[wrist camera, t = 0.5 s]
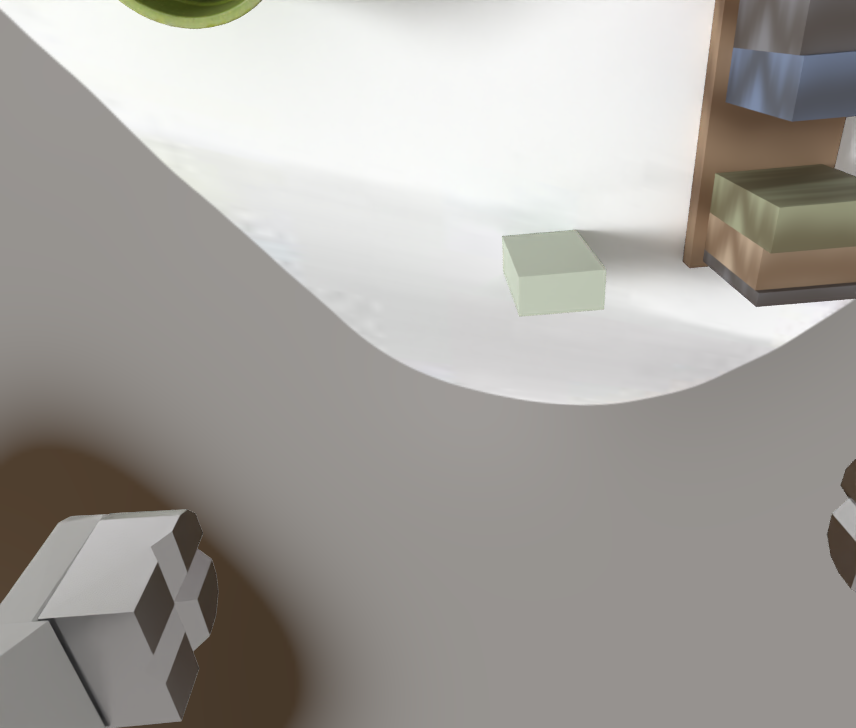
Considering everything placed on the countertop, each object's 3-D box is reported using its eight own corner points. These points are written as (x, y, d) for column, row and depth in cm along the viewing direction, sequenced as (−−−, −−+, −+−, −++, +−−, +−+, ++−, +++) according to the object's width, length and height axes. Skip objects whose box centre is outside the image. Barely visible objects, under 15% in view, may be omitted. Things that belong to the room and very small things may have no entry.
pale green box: (502, 236, 51) (519, 277, 43) (576, 229, 51) (606, 269, 43) (502, 270, 52) (519, 316, 45) (574, 264, 52) (604, 309, 45)
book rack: (726, -90, 41) (824, -121, 31) (882, -105, 40) (1029, -141, 31) (682, 261, 52) (743, 317, 43) (803, 251, 52) (891, 305, 43)
